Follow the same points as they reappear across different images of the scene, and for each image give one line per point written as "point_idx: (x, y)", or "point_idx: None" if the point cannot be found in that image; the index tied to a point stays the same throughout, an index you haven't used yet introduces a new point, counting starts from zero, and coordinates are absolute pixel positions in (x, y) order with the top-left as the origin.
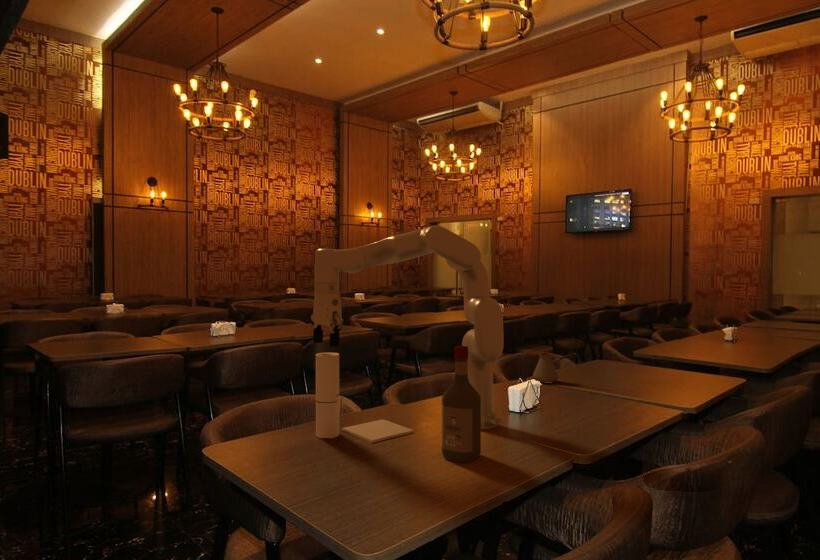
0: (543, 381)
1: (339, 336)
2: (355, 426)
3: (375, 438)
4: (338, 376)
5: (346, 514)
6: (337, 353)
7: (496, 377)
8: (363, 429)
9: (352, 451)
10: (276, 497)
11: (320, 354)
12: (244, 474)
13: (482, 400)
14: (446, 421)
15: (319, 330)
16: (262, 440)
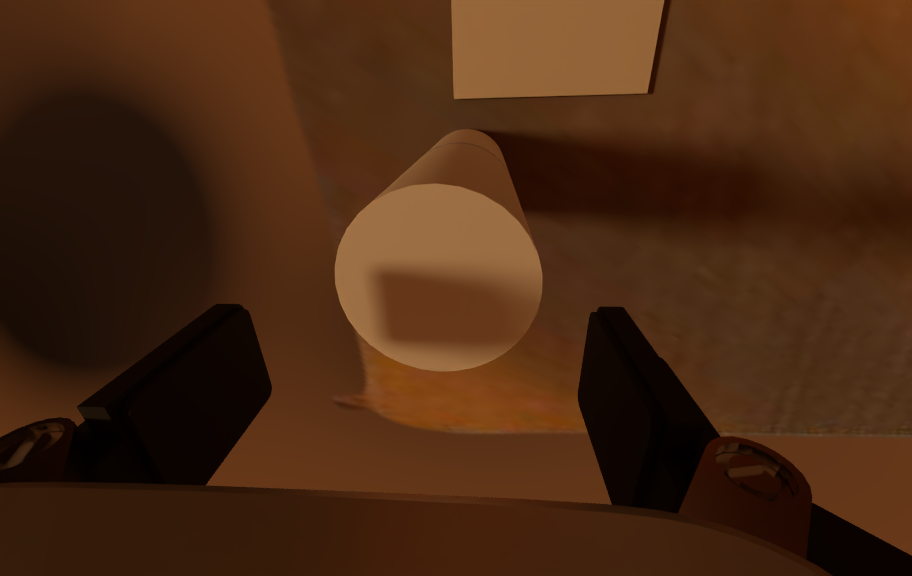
0: None
1: (674, 378)
2: (466, 40)
3: (643, 68)
4: (509, 184)
5: (898, 389)
6: (453, 196)
7: None
8: (521, 36)
9: (652, 194)
10: (723, 430)
11: (414, 335)
12: (582, 426)
13: None
14: None
15: (144, 456)
16: None
